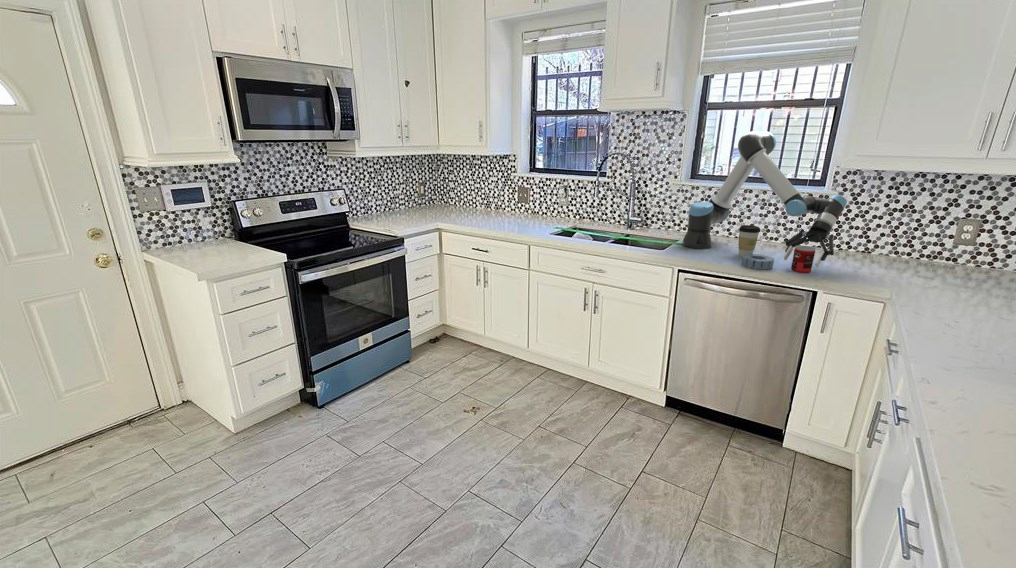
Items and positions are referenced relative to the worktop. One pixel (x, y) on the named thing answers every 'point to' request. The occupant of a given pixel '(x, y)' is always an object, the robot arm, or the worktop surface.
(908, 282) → the worktop surface
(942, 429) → the worktop surface
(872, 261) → the worktop surface
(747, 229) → the coffee cup
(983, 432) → the worktop surface
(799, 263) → the canned food
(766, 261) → the grey notched ring
